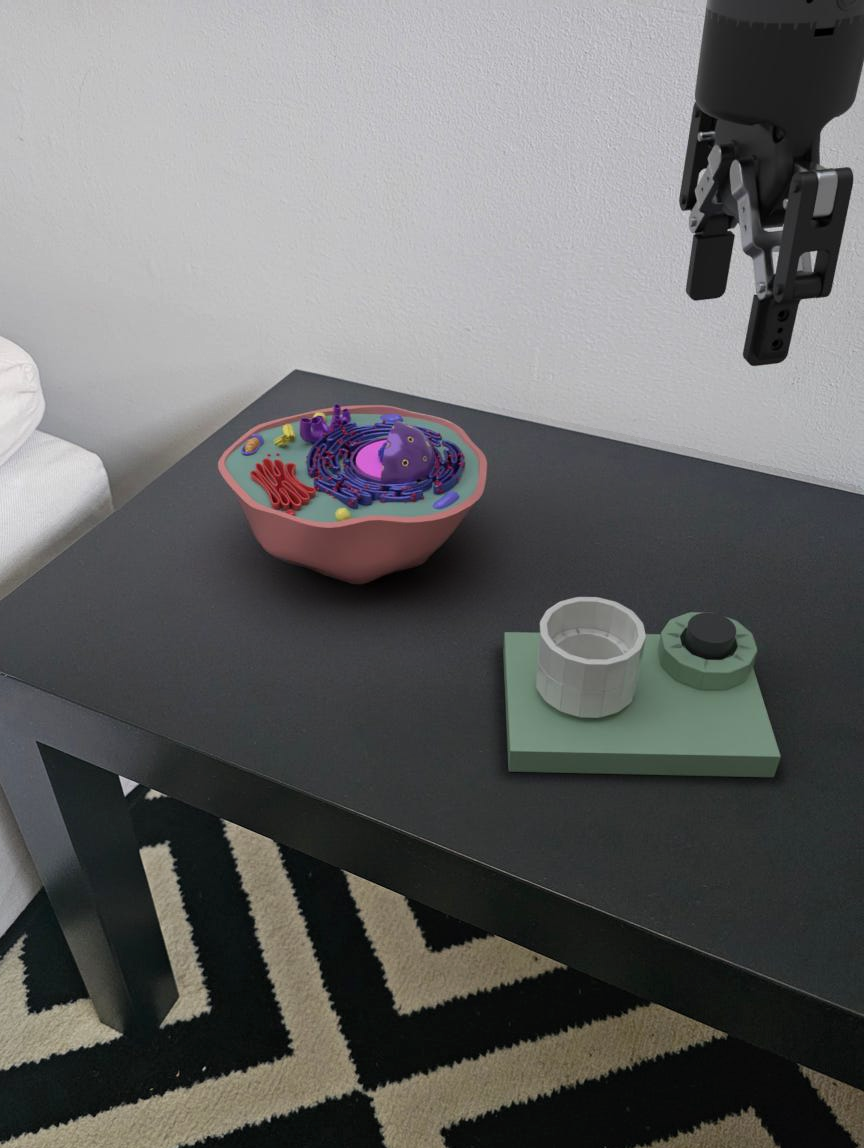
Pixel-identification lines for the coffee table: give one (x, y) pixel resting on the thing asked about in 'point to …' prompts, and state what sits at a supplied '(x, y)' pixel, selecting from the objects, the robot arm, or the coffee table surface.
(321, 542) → the cell model
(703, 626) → the button
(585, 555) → the coffee table surface
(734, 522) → the coffee table surface
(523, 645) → the scale
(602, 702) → the white cup
